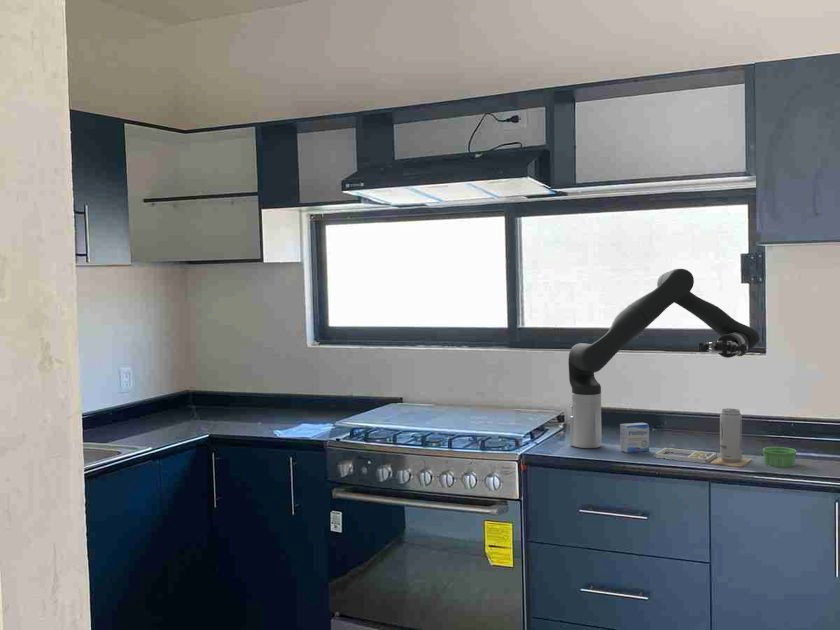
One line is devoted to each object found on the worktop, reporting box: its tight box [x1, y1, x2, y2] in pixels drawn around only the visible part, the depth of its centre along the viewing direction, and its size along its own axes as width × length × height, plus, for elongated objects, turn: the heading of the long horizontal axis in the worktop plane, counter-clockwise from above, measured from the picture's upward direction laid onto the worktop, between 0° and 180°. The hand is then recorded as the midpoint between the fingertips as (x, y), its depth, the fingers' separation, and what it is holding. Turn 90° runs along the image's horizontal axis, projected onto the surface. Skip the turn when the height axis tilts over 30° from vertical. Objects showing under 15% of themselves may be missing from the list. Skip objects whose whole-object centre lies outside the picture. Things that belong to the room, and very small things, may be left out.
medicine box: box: [619, 422, 650, 454], centre depth 261 cm, size 8×4×9 cm, turn 105°
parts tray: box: [653, 447, 718, 464], centre depth 251 cm, size 16×10×1 cm, turn 55°
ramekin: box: [762, 446, 798, 468], centre depth 240 cm, size 9×9×4 cm
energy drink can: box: [719, 408, 743, 462], centre depth 243 cm, size 6×6×15 cm
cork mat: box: [709, 455, 753, 469], centre depth 244 cm, size 9×11×1 cm
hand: (717, 349), depth 257 cm, fingers open, 8 cm apart
